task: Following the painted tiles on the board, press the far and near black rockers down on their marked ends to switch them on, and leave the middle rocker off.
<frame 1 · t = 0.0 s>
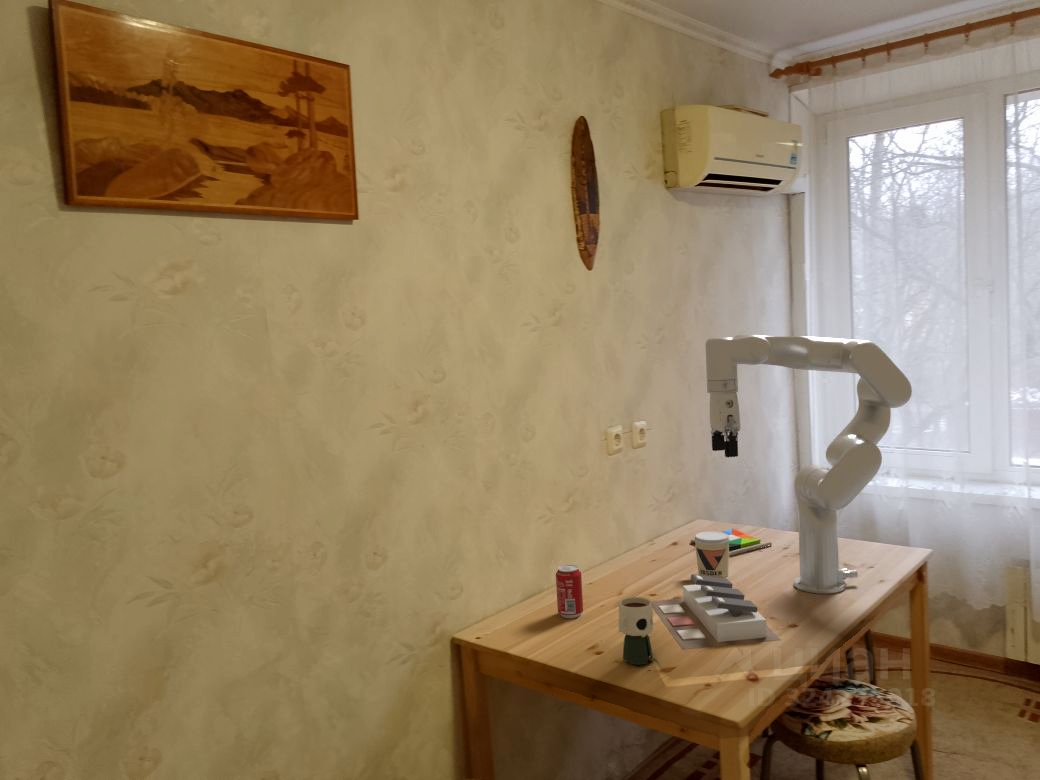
hand: (724, 453, 208), 37 cm above the table, tool pointing down, fingers open, 9 cm apart
beverage can: (570, 615, 204), on the table
rocker middle: (721, 595, 192), point 7 cm above the table, hinge at -12.0°
coffee cup: (713, 579, 224), on the table
character mug: (638, 662, 175), on the table
chart board: (710, 624, 193), on the table
wooden puzzle: (730, 547, 254), on the table
rocker near: (733, 607, 184), point 7 cm above the table, hinge at -12.0°
switch housing: (722, 618, 193), resting on chart board
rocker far: (710, 584, 200), point 7 cm above the table, hinge at -12.0°
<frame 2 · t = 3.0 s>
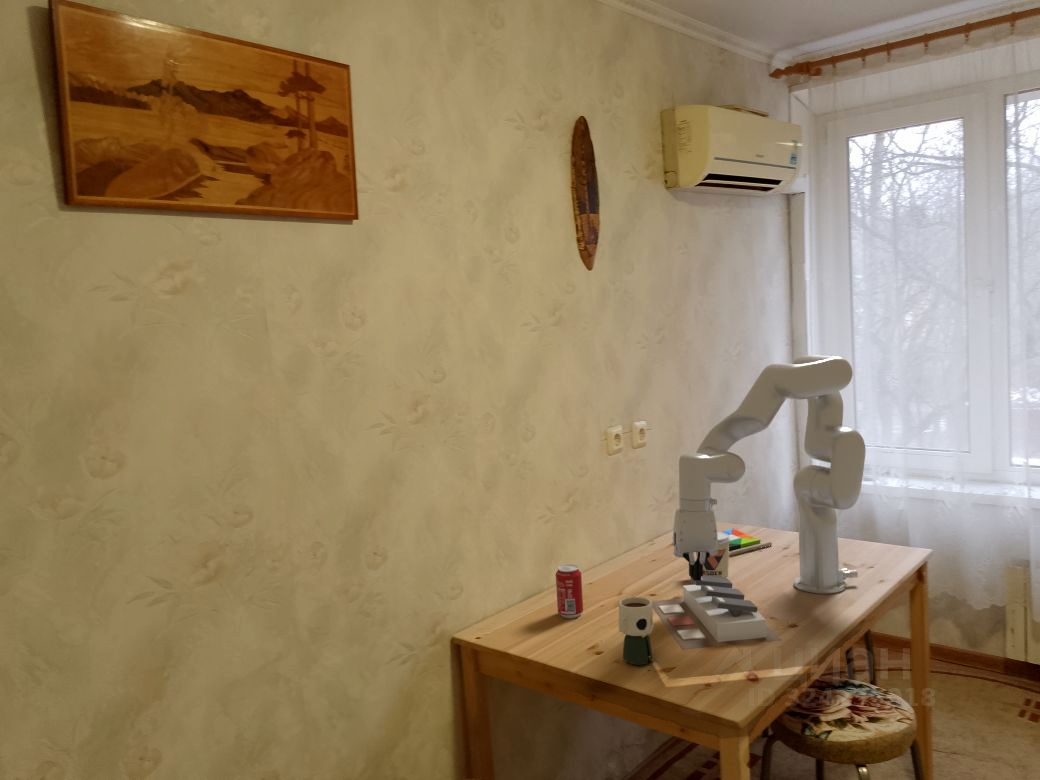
hand: (695, 578, 200), 8 cm above the table, tool pointing down, fingers closed
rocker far: (710, 584, 200), point 7 cm above the table, hinge at -9.8°, touching gripper
everything else where it was.
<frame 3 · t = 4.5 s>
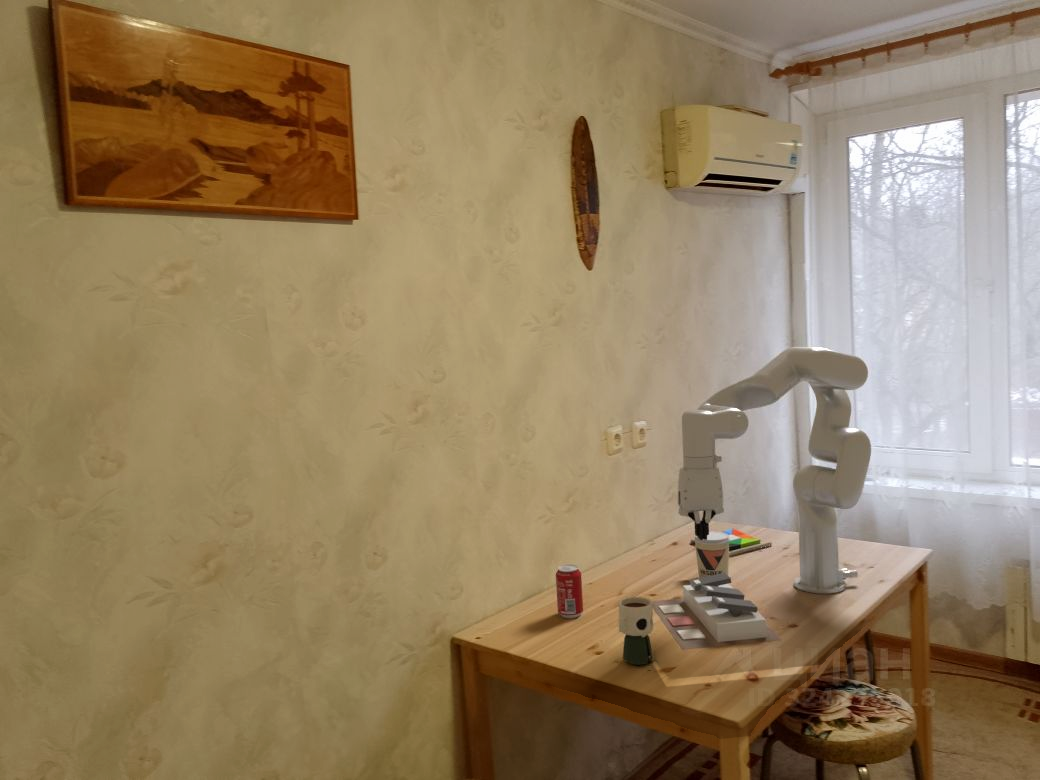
hand: (702, 538, 196), 19 cm above the table, tool pointing down, fingers closed
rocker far: (710, 584, 200), point 7 cm above the table, hinge at 7.5°
everything else where it was.
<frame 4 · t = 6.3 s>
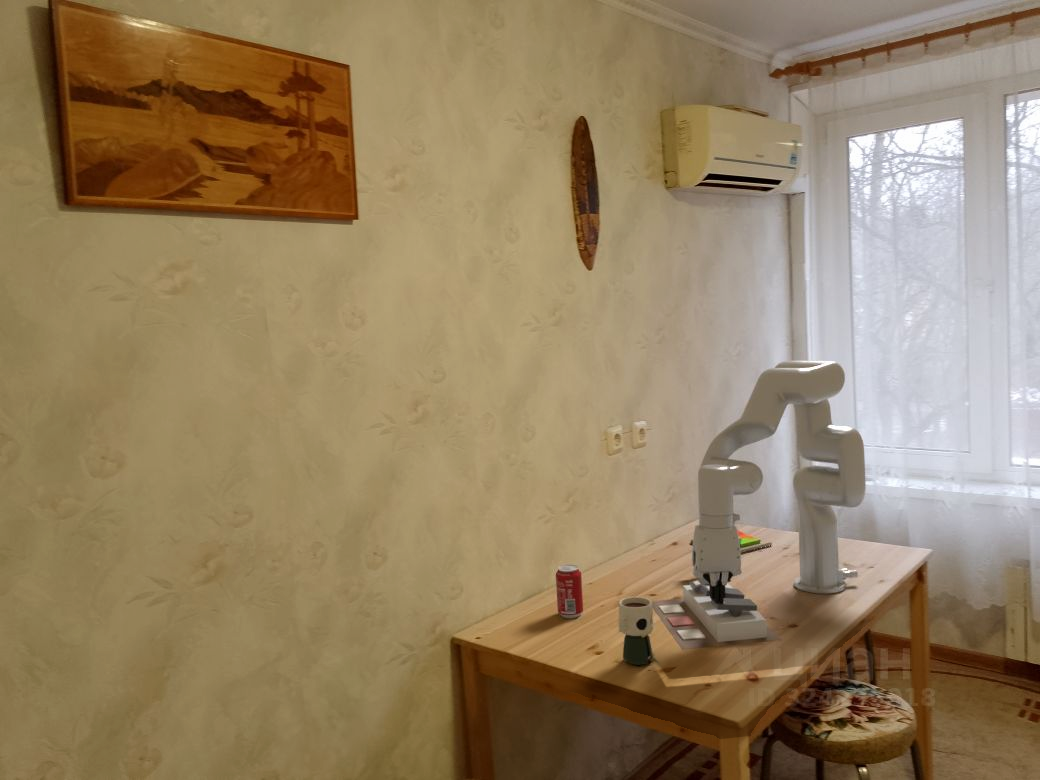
hand: (717, 601, 184), 9 cm above the table, tool pointing down, fingers closed
rocker near: (733, 607, 184), point 7 cm above the table, hinge at -7.2°, touching gripper
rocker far: (710, 584, 200), point 7 cm above the table, hinge at 12.5°
everything else where it was.
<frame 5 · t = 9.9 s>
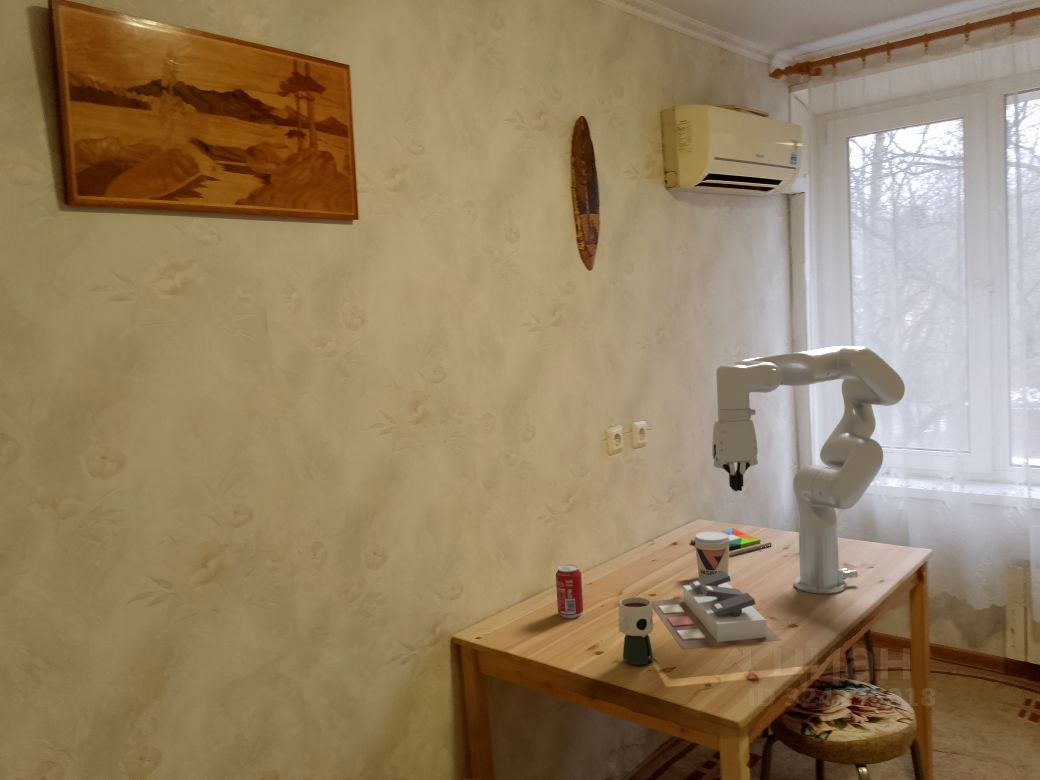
hand: (736, 489, 201), 29 cm above the table, tool pointing down, fingers closed
rocker near: (733, 607, 184), point 7 cm above the table, hinge at 12.8°
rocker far: (710, 584, 200), point 7 cm above the table, hinge at 14.1°
everything else where it was.
at the end: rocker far at +14° (first picture: -12°); rocker near at +13° (first picture: -12°); rocker middle at -12° (first picture: -12°) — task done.
